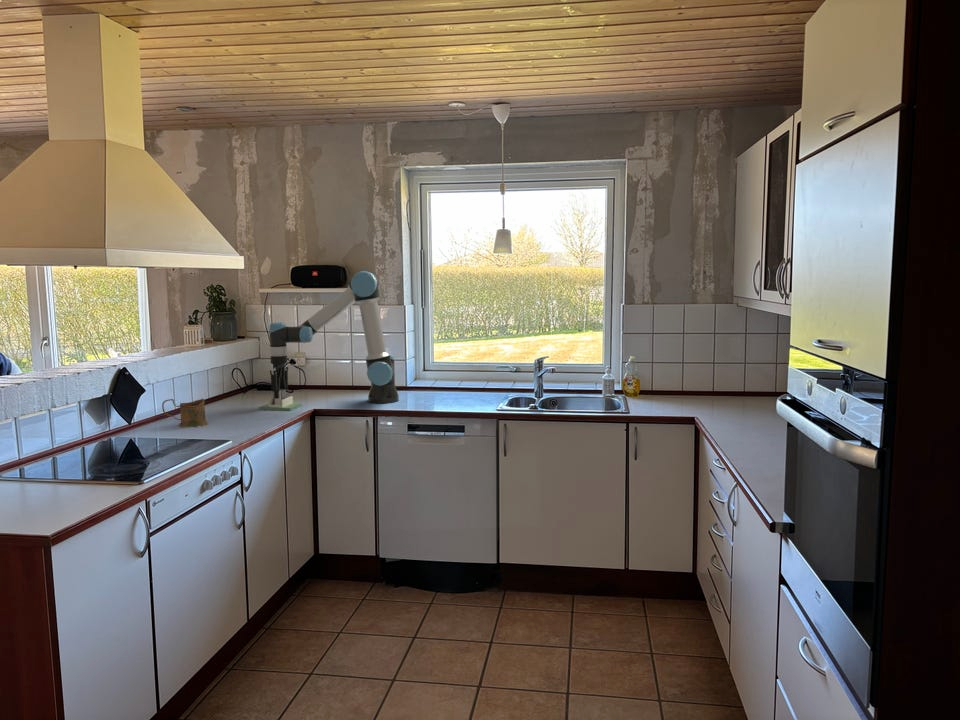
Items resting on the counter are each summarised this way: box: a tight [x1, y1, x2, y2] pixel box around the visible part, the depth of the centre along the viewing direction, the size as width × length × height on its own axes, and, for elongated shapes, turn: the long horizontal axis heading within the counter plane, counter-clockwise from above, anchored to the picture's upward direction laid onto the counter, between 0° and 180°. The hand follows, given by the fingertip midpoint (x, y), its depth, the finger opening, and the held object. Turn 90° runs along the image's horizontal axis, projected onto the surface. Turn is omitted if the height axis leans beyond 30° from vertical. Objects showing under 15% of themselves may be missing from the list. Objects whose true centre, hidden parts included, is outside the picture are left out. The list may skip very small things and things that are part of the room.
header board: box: [258, 395, 303, 412], centre depth 339 cm, size 16×12×5 cm
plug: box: [272, 388, 287, 405], centre depth 339 cm, size 4×4×7 cm
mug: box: [161, 398, 209, 428], centre depth 302 cm, size 12×18×12 cm, turn 126°
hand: (280, 403), depth 339 cm, fingers closed on plug, 4 cm apart
